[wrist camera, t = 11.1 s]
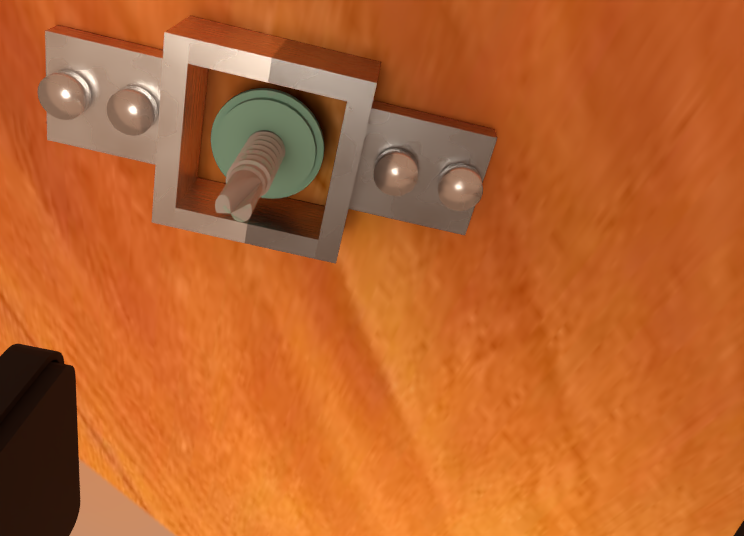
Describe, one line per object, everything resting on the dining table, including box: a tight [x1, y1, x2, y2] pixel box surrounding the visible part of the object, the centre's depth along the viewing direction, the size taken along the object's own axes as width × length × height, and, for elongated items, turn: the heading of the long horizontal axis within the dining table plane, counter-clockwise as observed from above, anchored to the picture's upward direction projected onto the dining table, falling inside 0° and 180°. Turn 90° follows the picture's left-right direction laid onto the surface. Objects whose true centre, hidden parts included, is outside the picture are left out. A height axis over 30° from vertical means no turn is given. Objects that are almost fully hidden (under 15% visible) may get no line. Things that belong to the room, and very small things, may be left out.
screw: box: [211, 88, 324, 222], centre depth 28 cm, size 9×5×5 cm
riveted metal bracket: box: [38, 16, 497, 263], centre depth 31 cm, size 20×8×4 cm, turn 77°
